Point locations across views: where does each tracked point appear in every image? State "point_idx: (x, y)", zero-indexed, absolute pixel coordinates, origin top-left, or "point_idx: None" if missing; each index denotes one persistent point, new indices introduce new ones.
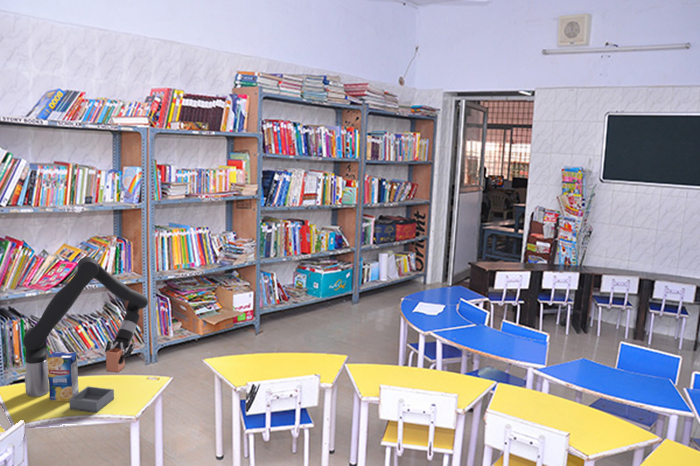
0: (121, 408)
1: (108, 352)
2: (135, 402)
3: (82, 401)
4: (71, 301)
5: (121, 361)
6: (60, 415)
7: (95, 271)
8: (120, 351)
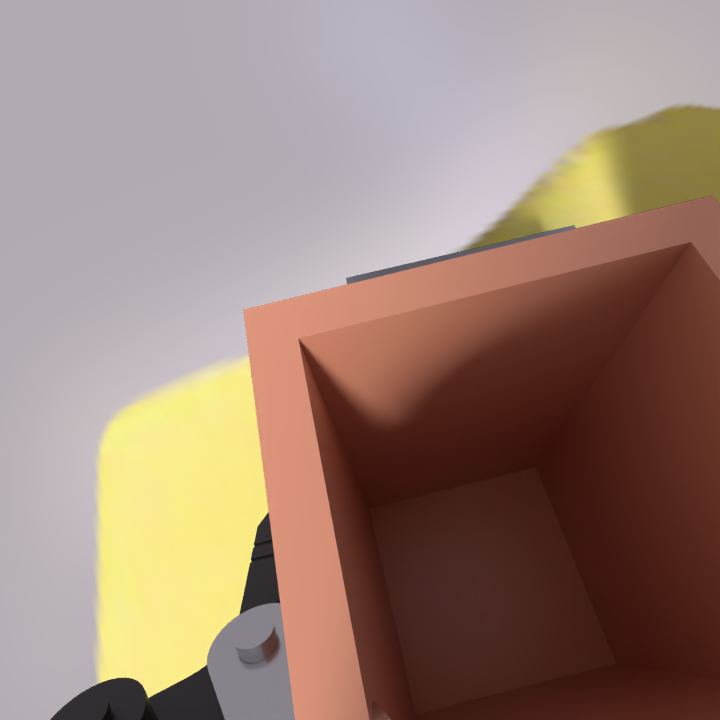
0: (239, 439)
1: (606, 222)
2: (194, 570)
3: (461, 253)
4: None
5: (264, 520)
6: (525, 214)
7: None
8: (271, 527)
